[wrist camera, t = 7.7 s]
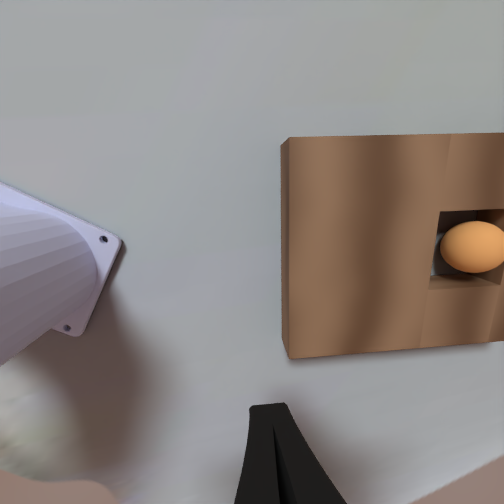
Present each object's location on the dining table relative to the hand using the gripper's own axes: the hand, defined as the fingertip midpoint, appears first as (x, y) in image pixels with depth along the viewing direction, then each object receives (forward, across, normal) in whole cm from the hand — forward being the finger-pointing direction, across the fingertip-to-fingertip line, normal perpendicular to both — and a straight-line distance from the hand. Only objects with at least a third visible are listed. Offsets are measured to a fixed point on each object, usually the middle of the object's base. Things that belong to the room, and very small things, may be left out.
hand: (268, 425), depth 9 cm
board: (+9, -11, -4) cm, 15 cm away
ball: (+8, -15, -4) cm, 18 cm away
